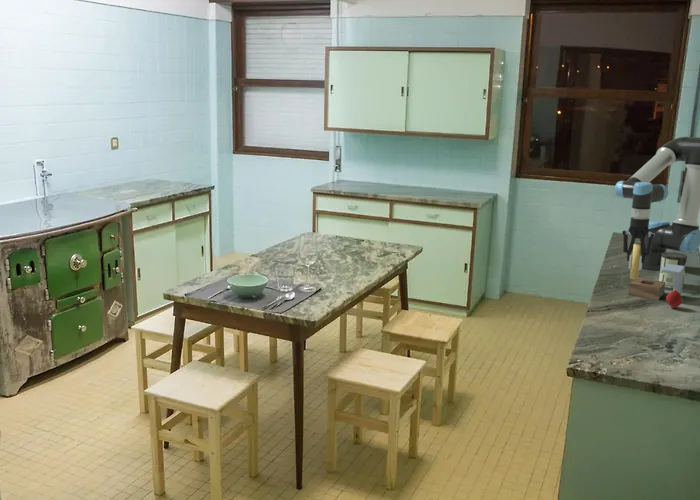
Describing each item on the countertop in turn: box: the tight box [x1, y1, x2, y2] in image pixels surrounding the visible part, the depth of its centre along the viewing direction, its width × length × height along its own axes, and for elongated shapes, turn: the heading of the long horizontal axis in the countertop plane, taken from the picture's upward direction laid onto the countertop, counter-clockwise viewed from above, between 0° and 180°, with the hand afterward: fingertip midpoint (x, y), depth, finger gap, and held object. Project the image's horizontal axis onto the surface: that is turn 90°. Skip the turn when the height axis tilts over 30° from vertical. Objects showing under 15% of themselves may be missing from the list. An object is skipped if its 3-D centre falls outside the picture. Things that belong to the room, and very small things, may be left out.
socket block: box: [627, 277, 666, 301], centre depth 283 cm, size 12×12×5 cm
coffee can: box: [658, 251, 688, 289], centre depth 295 cm, size 10×10×14 cm
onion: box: [665, 288, 683, 309], centre depth 264 cm, size 6×6×8 cm
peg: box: [629, 242, 641, 280], centre depth 294 cm, size 4×4×16 cm
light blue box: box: [662, 264, 685, 295], centre depth 277 cm, size 12×7×13 cm, turn 145°
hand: (635, 268), depth 295 cm, fingers closed on peg, 3 cm apart
